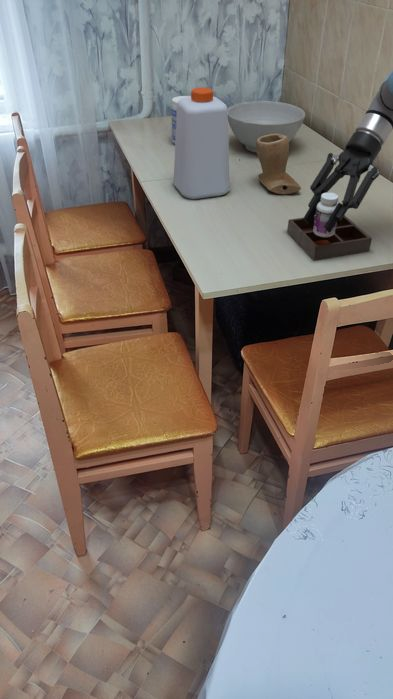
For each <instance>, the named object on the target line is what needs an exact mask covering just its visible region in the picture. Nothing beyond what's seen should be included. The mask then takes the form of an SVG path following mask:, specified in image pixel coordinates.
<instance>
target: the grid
mask: <svg viewBox="0 0 393 699" xmlns="http://www.w3.org/2000/svg"><path fill="white" fill-rule="evenodd" d="M303 218H304V217H297V218H291V219H288V222H287V231H286V232H287V235H289V236H290V237H291V238H292V239H293V240H294V241H295V243H297V244H298V245H299V246H300V248H301V249H302V250H303V251H304V252H305V253H306V254H307V256H309V258H311V259H312V260H313V261H319V260H323V259H330V258H331V259H332V258H337V257H343V256H349V255H355V254H359V253H361V254H362V253H366V252H370V248H371V243H372V237H371V236H370V235H369V234H367V233H366V232H365V231H364V230H363V229H361V227H360V226H358V225H357V224H356V223H354V222H353V221H352V220H351V219H350V218H349V217H348V216H347V215H346V214H345V215H344V217H343V218H342V219H341V220H338V221H337V224H336V229H335V234H334V235H332V236H330V237H320V236H317V235H316V234H315V233H314V232H313V228H314V221H315V216H314V217H313V219H312V221H311V223H310V224H308V223H306V221H305V220H304V219H303Z"/></svg>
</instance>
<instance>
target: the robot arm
mask: <svg viewBox="0 0 393 699" xmlns="http://www.w3.org/2000/svg"><path fill="white" fill-rule="evenodd" d="M367 108H368V109H367V110H366V112H365V113H364V115H363V116H362V118H361V120H360V121H359V123H358V125H357V126H356V128H355V131H354V132H353V133H352V135H351V137H350V138H349V140H348V142H347V143H346V145H345V147H344V150H343V151H342V152H340V153H339V154H333V152H329V153H328V154H327V156H326V160H325V163H324V164H323V166H322V167H321V169H320V171H319V172H318V174H317V175H316V176H315V178H314V180H313V182H312V183H311V185H310V186H309V189H310V191H311V192H312V193H313V196H312V197H311V199H310V201H309V202H308V205H307V206H308V210H307V211H306V213H305V215H304V216H303V217H302V218H303V219H304V220H305V221H306V223H308V224H310V223H311V221H312V219H313V217H314V216H315V214H316V207H317V204H318V203H319V202H321V200H320V199H321V195H322V194H323V193H327V192H330V190H331V189H332V188H333V187H334V186H335V185H336V183H338V181H340V179H343V178H344V177H345V176H349V180H348V183H347V186H346V191H345V192H344V196H343V200H341V202H337V204H338V205H337V206H336V208H335V210H334V211H333V213H332V215H331V216H330V218H329V220H328V221H327V223H326V225H325V226H324V227H325V229H326V230H327V232H331V231H332V229H333V227H334V226H335V224H336V222H337V221H338V220H341V219H342V218H343V217H344V215H345V216H346V213H347V212H348V210H350V209H354V210H357V209H359V208H360V205H361V203H362V201H363V200H364V198H365V196H366V194H367V193H368V191H369V189H370V188H371V186H372V184H373V182H374V181H375V180H376V179H377V178H378V177H379V176H380V171H379V169H378V167H377V166H373V163H374V161H375V160H376V159H377V157H378V155H379V154H380V151H381V150H382V146H384V145H385V143H386V142H387V140H388V138H389V136H390V135H391V133H392V132H393V70H391V72H390V73H389V74H388V75H387V77H386V78H385V80H383V82H382V84H381V85H380V87H379V88H378V91H377V93H376V94H375V96H374V98H373V100H372V101H371V103H370V105H369V107H367ZM337 163H338V165H337ZM335 166H336V167H335ZM334 167H335V168H334ZM365 173H366V174H365ZM363 174H365V176H364V177H363V179H362V181H361V183H360V185H359V186H358V183H359V182H360V179H361V176H362V175H363ZM357 186H358V188H357Z"/></svg>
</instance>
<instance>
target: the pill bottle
mask: <svg viewBox="0 0 393 699" xmlns="http://www.w3.org/2000/svg"><path fill="white" fill-rule="evenodd" d="M320 200H321V202H319V203H318V204H317V207H316V214H315V221H314V228H313V232H314V233H315V234H316V235H317V236H320V237H330V236H332V235H334V234H335V229H336V224H337V222H336V224H335V226H334V227H333V229H332V231H331V232H327V230H326V229H325V227H324V226H325V225H326V223H327V221H328V220H329V218H330V216H331V215H332V213H333V211H334V210H335V208H336V206H337V205H338V203H339V195H338V194H336V193H335V192H330V191H328V192H327V193H323V194H322V195H321V199H320Z"/></svg>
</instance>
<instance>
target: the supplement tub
mask: <svg viewBox="0 0 393 699" xmlns="http://www.w3.org/2000/svg"><path fill="white" fill-rule="evenodd" d="M188 97H191V95H180V96H179V95H178V96H175V97H173V98H172V99H171V141H172V144H174V145H175V141H176V119H177V103H178V101H179V100H180V99H182V98H188Z"/></svg>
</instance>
